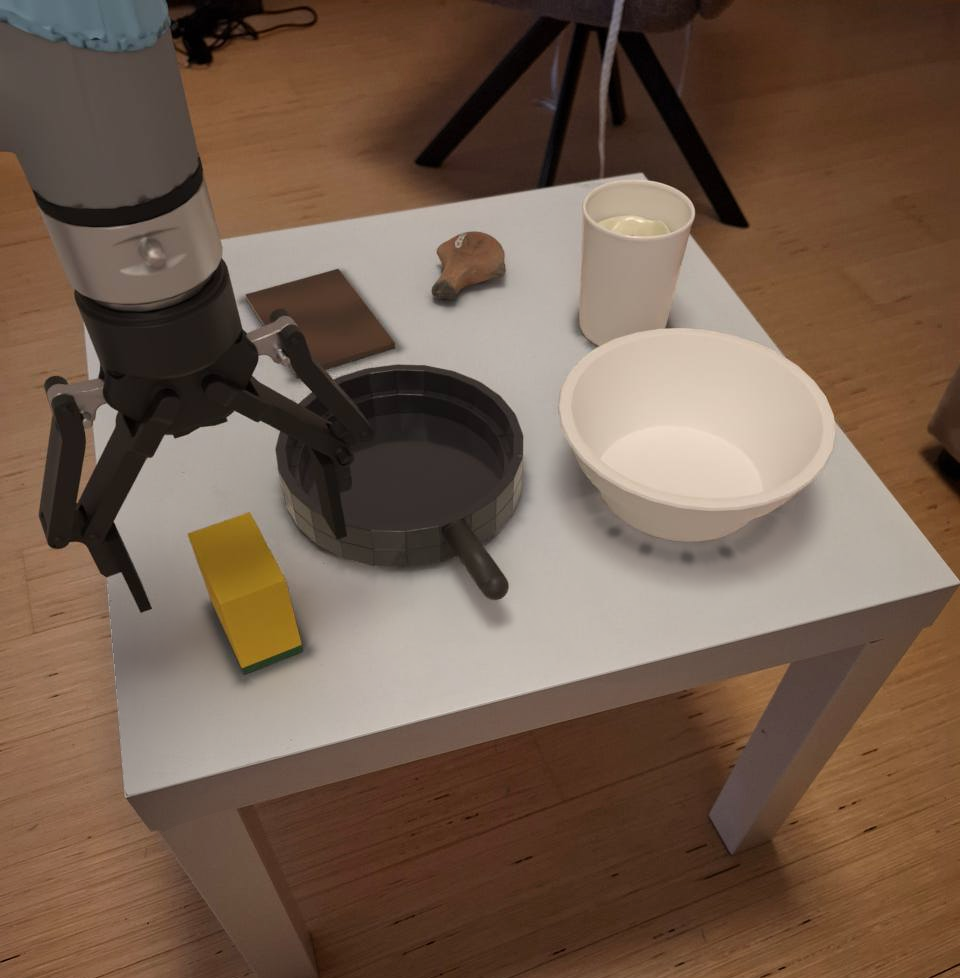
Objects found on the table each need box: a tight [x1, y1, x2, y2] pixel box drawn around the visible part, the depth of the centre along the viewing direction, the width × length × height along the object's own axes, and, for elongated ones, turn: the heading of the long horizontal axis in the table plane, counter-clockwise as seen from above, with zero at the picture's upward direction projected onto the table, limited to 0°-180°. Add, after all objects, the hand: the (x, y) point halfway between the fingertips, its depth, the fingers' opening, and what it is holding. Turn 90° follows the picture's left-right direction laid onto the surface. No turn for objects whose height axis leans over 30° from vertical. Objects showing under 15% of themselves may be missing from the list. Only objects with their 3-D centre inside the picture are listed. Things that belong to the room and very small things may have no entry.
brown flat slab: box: [245, 268, 396, 379], centre depth 91 cm, size 14×10×1 cm
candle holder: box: [578, 178, 696, 347], centre depth 87 cm, size 10×10×12 cm
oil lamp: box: [431, 230, 507, 300], centre depth 95 cm, size 9×4×8 cm
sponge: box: [187, 511, 304, 675], centre depth 66 cm, size 7×4×8 cm, turn 28°
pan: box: [275, 363, 524, 568], centre depth 77 cm, size 20×20×4 cm
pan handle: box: [444, 520, 510, 601], centre depth 69 cm, size 8×2×2 cm, turn 28°
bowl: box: [557, 327, 837, 543], centre depth 75 cm, size 21×21×8 cm
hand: (240, 560), depth 63 cm, fingers open, 13 cm apart
